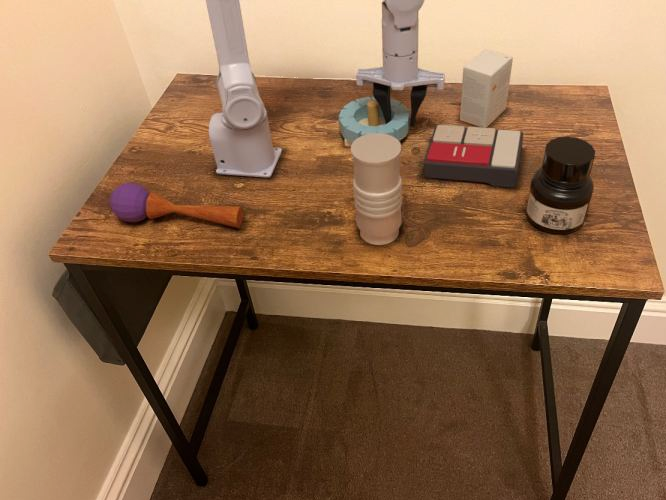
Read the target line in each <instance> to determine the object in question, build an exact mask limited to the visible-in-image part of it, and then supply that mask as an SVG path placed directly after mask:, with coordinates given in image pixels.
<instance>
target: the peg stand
mask: <svg viewBox="0 0 666 500" xmlns="http://www.w3.org/2000/svg"><path fill="white" fill-rule="evenodd" d="M367 112H368V118H364V119H362V120H360V121H359V122H358V123H360V124H362V125H365V126H380V125H385V124H386V123H385V118H384V117H379V104H378V102H377V101H369V102H368V103H367ZM343 141H344V147H350V148H351V145H352V143H350V142H348V141H347V139H344V140H343Z"/></svg>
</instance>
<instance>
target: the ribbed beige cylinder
mask: <svg viewBox="0 0 666 500" xmlns="http://www.w3.org/2000/svg"><path fill="white" fill-rule="evenodd" d="M401 153H402V144H401V141H398V140H397V139H396V138H395V137H393V136H390V135H388V134H383V133H372V134H367V135H363V136H361V137H359V138H357V139H356V140H355V141H354V142H353V143H352V145H351V147H350V155H351V156H352V158H353V172H354V177H353V180H352V187H353V188H352V190H353V199H354V200H353V201H354V202H353V203H354V208H355V209H356V213H355V215H356V216H355V217H356V218H355V223H356V226H357V228H358V230H359V234H360V237H361V239H362V240H363V241H365V242H366V243H368V244H370V245H376V246H382V245H387V244H390V243H392V242H394V241H395V240H396V239H397V238H398V236H399V235H400V227H401V225H402V223H403V218H402V217H403V216H402V210H401V209H402V205H403V179H402V176H401V175H400V166H401V165H400V155H401Z"/></svg>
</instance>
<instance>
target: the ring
mask: <svg viewBox="0 0 666 500" xmlns="http://www.w3.org/2000/svg"><path fill="white" fill-rule="evenodd" d="M369 101H376V99H375V98H374V96H373V95H371V97H370V96H364V97H361V98H356V99H355V100H352V101H350V102H349V103H347V104H345V105H343V107H342V108H341V109H340V112H339V115H338V127H339V132H340V134H341V136H342V137H343V139H344V140H345V139H347V141H348V142H350V143H353V142H354V141H355V140H356V139H357V138H359V137H361V136H363V135H367V134H372V133H383V134H388V135H390V136H393V137H395V138H396V139H397V140H398V141H399V142H401V140H404V138H405V137H407V135H408V134H409V130H410V118H411V112H410V110H409V108H407V106H406V105H405V104H404V103H402V101H399V100H397V99H394V98H392V97H390V102H391V121H390V122H389V123H387V124H385V125H380V126H365V125H362V124H360V123H358V122H359V121H360V120H362V119H364V118H368V112H367V103H368V102H369ZM379 117H384V115H383V112H382V110H381V108H380V106H379Z"/></svg>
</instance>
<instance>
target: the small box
mask: <svg viewBox="0 0 666 500" xmlns="http://www.w3.org/2000/svg"><path fill="white" fill-rule="evenodd" d="M513 59H514V57H513V56H511V55H508V54H504V53H501V52H499V51H494V50H491V49H488V48H484V49H483V51H481V52H480V53H479V54H478V55H476V56H475V57H474V58H473V59H472V60H470V61H469V62H468V63H467V64H466V65H464V66H463V68H462V81H461V83H462V84H461V97H460V110H459V111H460V112H459V120H460V121H461V122H464V123H467V124H469V125H472V126H474V127H481V128H489V126H490V125H491V124H492V123H493V122H494V121H495V120H496V119H497V118H498V117H499V116H500V115H502V113H503V112H505V111H506V110H507V105H508V104H507V103H508V97H509V89H510V82H511V76H512V75H511V74H512V68H513Z"/></svg>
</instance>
